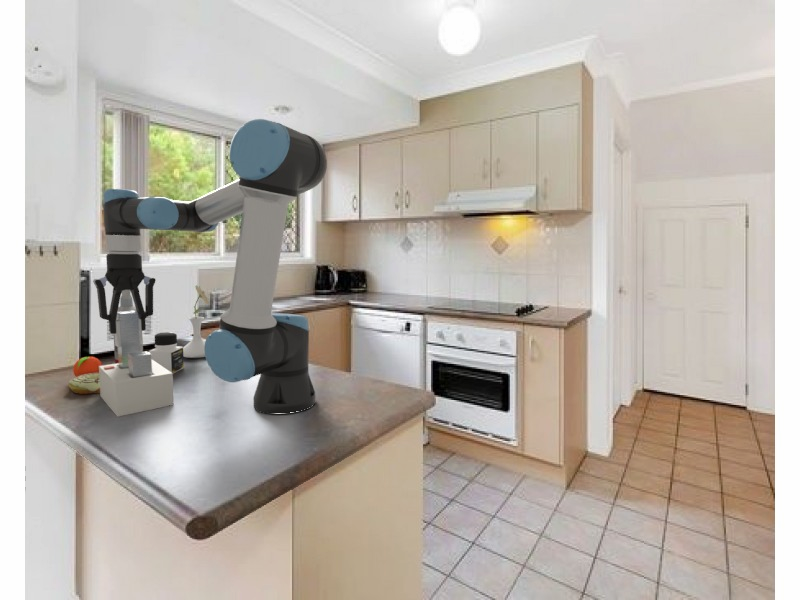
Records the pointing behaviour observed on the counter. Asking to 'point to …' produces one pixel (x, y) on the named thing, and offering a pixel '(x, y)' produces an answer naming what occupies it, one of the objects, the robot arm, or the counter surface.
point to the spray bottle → (125, 306)
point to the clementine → (86, 366)
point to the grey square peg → (139, 364)
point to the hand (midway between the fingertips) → (128, 344)
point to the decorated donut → (85, 383)
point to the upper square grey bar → (128, 336)
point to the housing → (135, 389)
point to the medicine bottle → (168, 352)
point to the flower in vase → (196, 332)
